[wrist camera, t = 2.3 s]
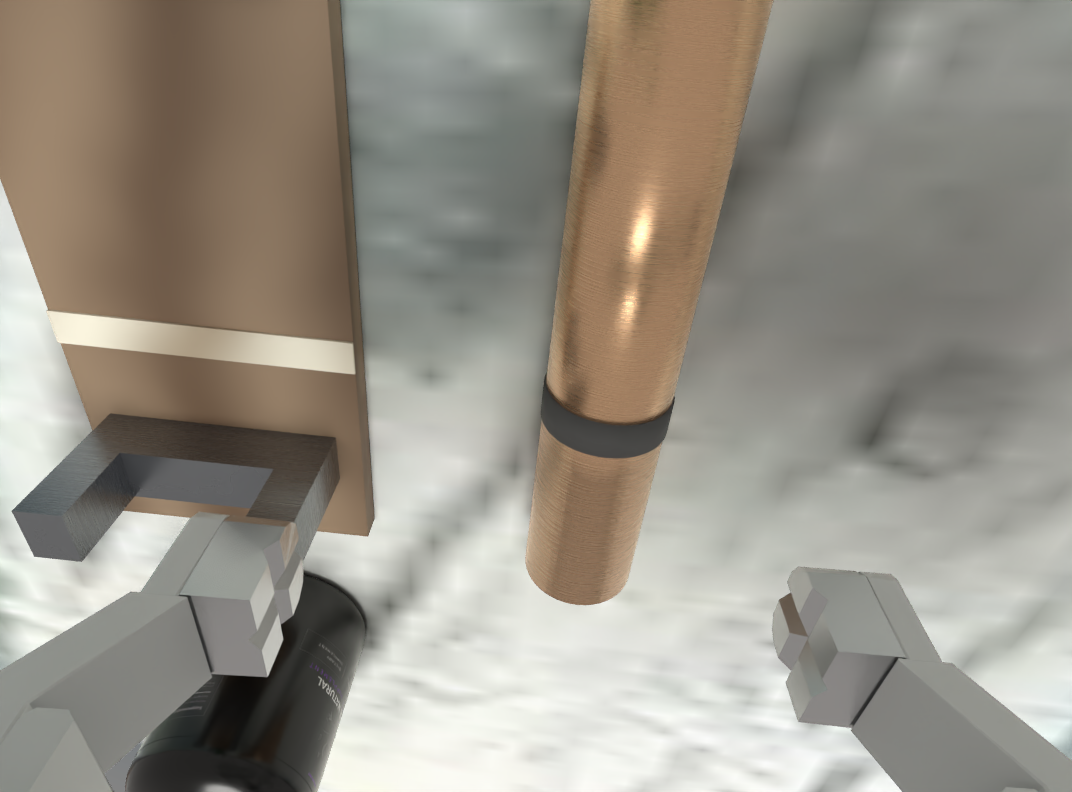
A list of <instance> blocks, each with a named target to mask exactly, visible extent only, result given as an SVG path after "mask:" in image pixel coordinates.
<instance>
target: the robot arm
mask: <svg viewBox="0 0 1072 792" xmlns="http://www.w3.org/2000/svg"><path fill="white" fill-rule="evenodd" d="M298 540H299V536H298V531H297V526H296V524H295V523H293V522H289V521H280V520H271V519H263V518H254V517H245V516H236V515H223V514H214V513H206V512H198V513H197V514H195V515H194V516H192V517H191V518H190V519H189V520H188V522H187V523H186V525H185V526H184V528H183V529H182V531H181V532H180V534H179V535H178V537H177V538H176V540H175V541H174V543H173V544H172V546H171V547H170V549H169V550H168V552H167V553H166V555H165V556H164V558H163V559H162V561H161V562H160V564H159V565H158V567H157V568H156V570H155V571H154V573H153V574H152V576H151V577H150V579H149V580H148V582H147V583H146V585H145V586H144V588H143V589H142V591H141V592H130V593H128V594H126V595H125V596H123V597H121V598H120V599H118V600H116V601H115V602H113V603H111V604H110V605H108V606H106V607H105V608H103V609H101V610H100V611H98V612H96V613H95V614H93V615H91V616H90V617H88V618H86V619H85V620H83V621H82V622H80V623H78V624H77V625H75V626H73V627H72V628H70V629H68V630H67V631H65V632H63V633H62V634H60V635H58V636H57V637H55V638H53V639H52V640H50V641H48V642H47V643H45V644H43V645H42V646H40V647H38V648H37V649H35V650H33V651H32V652H30V653H28V654H27V655H25V656H24V657H22V658H20V659H19V660H17V661H15V662H14V663H12V664H10V665H9V666H7V667H5V668H4V669H2V670H0V792H114V791H113V789H112V787H111V786H110V784H109V782H108V780H107V778H106V776H105V773H106V772H108V771H109V770H110V769H111V768H112V767H113V766H114V765H115V764H116V763H118V762H119V761H120V760H121V759H122V758H123V757H124V756H125V755H126V754H127V753H129V752H130V751H131V750H132V749H133V748H134V747H135V746H136V745H137V744H139V743H140V742H141V741H142V740H143V739H144V738H145V737H146V736H147V735H149V734H150V733H151V732H152V731H153V730H154V729H155V728H156V727H157V726H159V725H160V724H161V723H162V722H163V721H164V720H165V719H166V718H167V717H169V716H170V715H171V714H172V713H173V712H174V711H175V710H176V709H177V708H179V707H180V706H181V705H182V704H183V703H184V702H185V701H186V700H187V699H189V698H190V697H191V696H192V695H193V694H194V693H195V692H196V691H197V690H198V689H200V688H201V687H202V686H203V685H204V684H205V683H206V682H207V681H208V680H210V679H211V678H212V675H211V674H220V675H238V676H256V677H268V675H269V673H270V670H271V668H272V666H273V663H274V661H275V658H276V656H277V654H278V651H279V649H280V646H281V644H282V641H283V635H282V630H281V624H282V623H284V622H285V621H286V620H288V619H289V618H290V617H292V616H293V614H294V612H295V609H296V607H297V604H298V602H299V598H300V594H301V589H302V584H303V561H302V557H301V556H300V555H299V554H298V553H297V552H295V551H294V549H295V546H296V544H297V542H298ZM787 583H788V586H789V589H790V592H791V593H789V594H788V595H786V596H785V597H783V598H781V599H780V600H779V601H778V604H777V606H776V609H775V611H774V614H773V626H772V633H773V640H774V645H775V649H776V652H777V656H778V658H779V659H780V660H781V661H782V662H783V663H784V664H785V665H786V666H787V667H788V668H789V669H790V670H791V673H790V675H789V677H788V679H787V681H786V685H787V688H788V691H789V695H790V698H791V701H792V704H793V707H794V710H795V714H796V717H797V720H798V722H804V723H813V724H822V725H831V726H840V727H849V728H852V729H851V731H852V732H853V734H854V735H855V736H856V737H857V738H858V740H859V741H860V742H861V743H862V744H863V746H864V747H865V748H866V749H867V750H868V751H869V753H870V754H871V755H872V756H873V757H874V759H875V760H876V761H877V762H878V763H879V765H880V766H881V767H882V768H883V769H884V770H885V772H886V773H887V774H888V775H889V776H890V778H891V779H892V780H893V781H894V782H895V784H896V785H897V786H898V787H899V788H900V789H901V791H902V792H1072V760H1070V759H1069V758H1068V757H1067V756H1065V755H1064V754H1063V753H1062V752H1060V751H1059V750H1058V749H1057V748H1056V747H1054V746H1053V745H1052V744H1051V743H1049V742H1048V741H1047V740H1046V739H1044V738H1043V737H1042V736H1041V735H1040V734H1038V733H1037V732H1036V731H1035V730H1033V729H1032V728H1031V727H1030V726H1028V725H1027V724H1026V723H1025V722H1023V721H1022V720H1021V719H1020V718H1019V717H1017V716H1016V715H1015V714H1014V713H1012V712H1011V711H1010V710H1009V709H1007V708H1006V707H1005V706H1004V705H1003V704H1001V703H1000V702H999V701H998V700H996V699H995V698H994V697H993V696H991V695H990V694H989V693H988V692H987V691H985V690H984V689H983V688H982V687H980V686H979V685H978V684H977V683H975V682H974V681H973V680H972V679H971V678H969V677H968V676H967V675H966V674H964V673H963V672H962V671H961V670H959V669H958V668H957V667H956V666H955V665H953V664H952V663H945V662H942V661H941V659H940V657H939V655H938V653H937V651H936V650H935V648H934V646H933V644H932V642H931V640H930V639H929V637H928V635H927V633H926V631H925V630H924V628H923V626H922V624H921V622H920V620H919V619H918V617H917V615H916V613H915V611H914V609H913V608H912V606H911V604H910V602H909V600H908V598H907V597H906V595H905V593H904V591H903V589H902V587H901V586H900V584H899V582H898V580H897V579H896V578H894V577H893V576H892V575H891V574H882V573H870V572H856V571H847V570H834V569H822V568H809V567H797V568H796V569H795V570H793V571H792V573H791V575H790V577H789V579H788V581H787Z"/></svg>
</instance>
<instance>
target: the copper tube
mask: <svg viewBox="0 0 1072 792" xmlns="http://www.w3.org/2000/svg"><path fill="white" fill-rule="evenodd" d="M772 4H773V0H591V2H590V11H589V19H588V28H587V36H586V45H585V53H584V62H583V70H582V79H581V88H580V96H579V105H578V113H577V122H576V130H575V139H574V147H573V156H572V164H571V173H570V182H569V190H568V199H567V207H566V216H565V224H564V233H563V241H562V250H561V258H560V267H559V276H558V284H557V293H556V301H555V310H554V318H553V327H552V335H551V344H550V352H549V361H548V370H547V373H546V375H545V379H544V387H543V396H542V405H541V419H542V421H541V429H540V438H539V446H538V455H537V463H536V472H535V481H534V489H533V498H532V506H531V515H530V523H529V532H528V540H527V549H526V557H525V558H526V567H527V570H528V573H529V575H530V577H531V579H532V580H533V581H534V583H535V584H536V585H537V586H538V587H539V588H540V589H541V590H542V591H544V592H545V593H546V594H548V595H549V596H551V597H553V598H555V599H557V600H560V601H563V602H566V603H570V604H576V605H592V604H598V603H601V602H604V601H607V600H609V599H611V598H613V597H614V596H615V595H617V594H618V593H619V592H620V591H621V590H622V589H623V587H624V586H625V584H626V582H627V579H628V576H629V572H630V568H631V564H632V560H633V556H634V552H635V548H636V544H637V540H638V536H639V532H640V528H641V524H642V521H643V517H644V513H645V509H646V505H647V501H648V497H649V493H650V489H651V485H652V481H653V477H654V473H655V469H656V465H657V461H658V457H659V453H660V449H661V445H662V441H663V440H664V438H665V436H666V433H667V429H668V425H669V421H670V417H671V413H672V409H673V405H674V400H675V396H674V393H675V389H676V385H677V381H678V377H679V373H680V370H681V366H682V362H683V358H684V354H685V350H686V346H687V342H688V338H689V334H690V330H691V326H692V322H693V318H694V314H695V310H696V306H697V302H698V298H699V294H700V290H701V286H702V282H703V278H704V274H705V270H706V266H707V262H708V258H709V254H710V250H711V246H712V242H713V238H714V234H715V230H716V226H717V222H718V219H719V215H720V211H721V207H722V203H723V199H724V195H725V191H726V187H727V183H728V179H729V175H730V171H731V167H732V163H733V159H734V155H735V151H736V147H737V143H738V139H739V135H740V131H741V127H742V123H743V119H744V115H745V111H746V107H747V103H748V99H749V95H750V91H751V87H752V83H753V79H754V75H755V71H756V67H757V64H758V60H759V56H760V52H761V48H762V44H763V40H764V36H765V32H766V28H767V24H768V20H769V16H770V12H771V8H772Z"/></svg>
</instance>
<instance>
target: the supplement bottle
mask: <svg viewBox="0 0 1072 792" xmlns="http://www.w3.org/2000/svg"><path fill="white" fill-rule="evenodd" d="M281 630H282V635H283V641H282V644H281V646H280V649H279V651H278V654H277V656H276V658H275V661H274V663H273V666H272V668H271V670H270V673H269V675H268V677H256V676H238V675H220V674H211V675H212V678H211V679H210V680H208V681H207V682H206V683H205V684H204V685H203V686H202V687H201V688H200V689H198V690H197V691H196V692H195V693H194V694H193V695H192V696H191V697H190V698H189V699H187V700H186V701H185V702H184V703H183V704H182V705H181V706H180V707H179V708H177V709H176V710H175V711H174V712H173V713H172V714H171V715H170V716H169V717H167V718H166V719H165V720H164V721H163V722H162V723H161V724H160V725H159V726H157V727H156V728H155V729H154V730H153V731H152V732H151V733H150V734H149V735H147V736H146V738H145V740H144V742H143V743H142V745H141V747H140V749H139V751H138V752H137V754H136V756H135V758H134V760H133V762H132V764H131V766H130V768H129V770H128V773H127V777H126V785H125V792H317V791H318V788H319V785H320V782H321V779H322V776H323V773H324V769H325V766H326V763H327V760H328V757H329V754H330V751H331V747H332V744H333V741H334V738H335V735H336V732H337V729H338V726H339V722H340V719H341V716H342V713H343V710H344V707H345V704H346V701H347V697H348V694H349V691H350V688H351V685H352V682H353V679H354V676H355V672H356V669H357V666H358V663H359V659H360V656H361V653H362V650H363V646H364V642H365V636H366V632H365V624H364V621H363V618H362V616H361V613H360V612H359V610H358V608H357V607H356V606H355V604H354V603H353V602H352V601H351V600H350V599H349V598H348V597H347V596H346V595H345V594H344V593H342V592H341V591H340V590H338V589H337V588H335V587H333V586H332V585H330V584H328V583H326V582H324V581H322V580H319V579H317V578H314V577H311V576H307V575H303V584H302V589H301V594H300V598H299V602H298V604H297V607H296V609H295V612H294V614H293V616H292V617H290V618H289V619H288V620H286V621H285V622H284V623H282V624H281Z"/></svg>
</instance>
